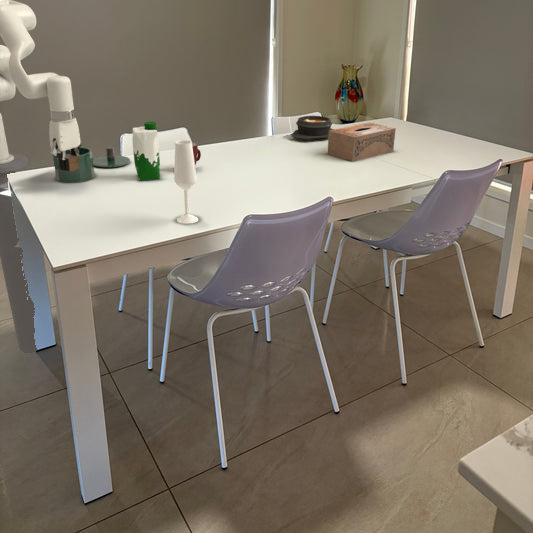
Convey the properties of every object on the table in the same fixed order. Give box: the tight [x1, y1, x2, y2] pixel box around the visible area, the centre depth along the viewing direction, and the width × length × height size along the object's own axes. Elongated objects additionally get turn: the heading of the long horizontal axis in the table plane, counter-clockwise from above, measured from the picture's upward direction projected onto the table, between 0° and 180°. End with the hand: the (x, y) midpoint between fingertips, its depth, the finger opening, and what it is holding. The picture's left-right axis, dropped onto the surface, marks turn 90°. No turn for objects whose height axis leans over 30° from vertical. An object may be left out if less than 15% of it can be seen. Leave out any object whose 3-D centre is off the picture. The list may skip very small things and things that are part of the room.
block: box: [65, 154, 79, 171], centre depth 203 cm, size 4×4×4 cm
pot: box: [52, 146, 96, 184], centre depth 216 cm, size 14×14×10 cm
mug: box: [191, 141, 202, 166], centre depth 226 cm, size 10×8×10 cm
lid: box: [93, 146, 131, 168], centre depth 232 cm, size 15×15×6 cm
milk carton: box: [132, 121, 161, 182], centre depth 214 cm, size 9×9×20 cm
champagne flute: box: [173, 139, 199, 225], centre depth 175 cm, size 7×7×24 cm
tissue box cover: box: [327, 121, 396, 162], centre depth 250 cm, size 26×14×10 cm, turn 130°
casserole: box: [290, 115, 335, 140], centre depth 275 cm, size 25×19×8 cm
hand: (69, 167), depth 204 cm, fingers closed on block, 4 cm apart
